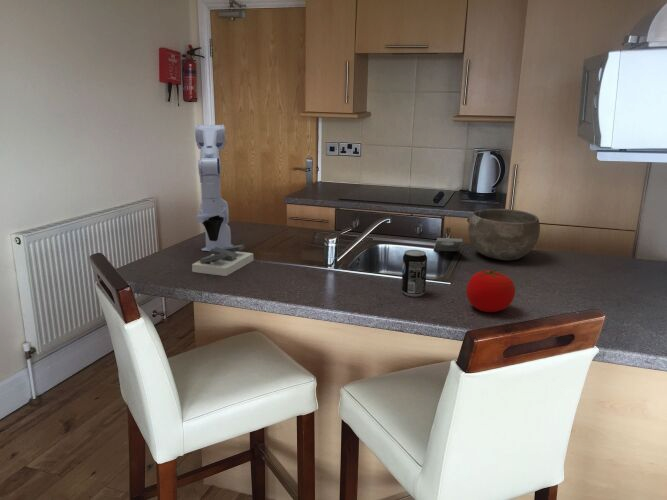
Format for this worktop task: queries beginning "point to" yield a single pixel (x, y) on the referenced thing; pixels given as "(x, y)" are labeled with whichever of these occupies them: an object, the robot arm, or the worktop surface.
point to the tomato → (490, 291)
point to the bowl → (503, 233)
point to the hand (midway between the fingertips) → (213, 240)
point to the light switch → (447, 244)
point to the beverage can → (414, 273)
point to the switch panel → (223, 264)
